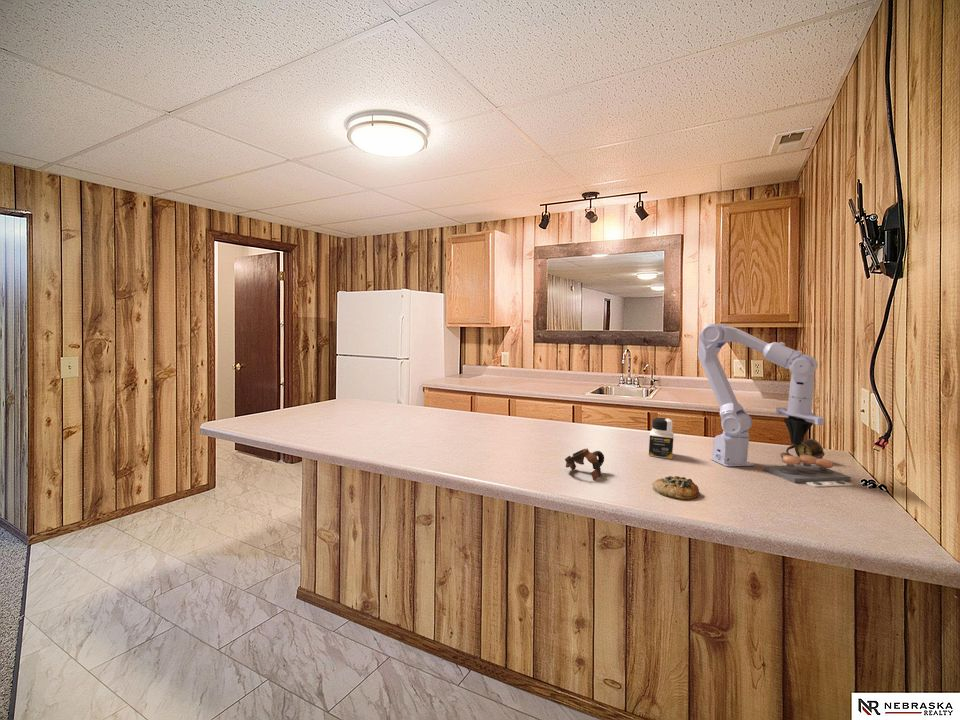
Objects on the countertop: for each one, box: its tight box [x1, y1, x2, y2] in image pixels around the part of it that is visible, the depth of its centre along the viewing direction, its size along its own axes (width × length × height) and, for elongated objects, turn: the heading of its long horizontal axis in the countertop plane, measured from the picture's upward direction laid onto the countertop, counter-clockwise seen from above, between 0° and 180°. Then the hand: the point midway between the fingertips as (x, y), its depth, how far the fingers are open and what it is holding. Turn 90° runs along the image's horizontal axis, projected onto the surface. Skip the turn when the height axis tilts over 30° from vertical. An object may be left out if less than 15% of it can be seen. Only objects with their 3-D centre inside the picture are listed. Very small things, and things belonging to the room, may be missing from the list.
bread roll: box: [651, 475, 700, 501], centre depth 122 cm, size 11×11×5 cm
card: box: [805, 481, 854, 488], centre depth 131 cm, size 12×3×1 cm, turn 99°
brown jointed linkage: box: [564, 448, 605, 481], centre depth 135 cm, size 12×10×8 cm
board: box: [764, 464, 852, 484], centre depth 138 cm, size 18×11×2 cm, turn 99°
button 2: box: [814, 458, 833, 470], centre depth 139 cm, size 4×4×3 cm
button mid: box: [798, 455, 816, 467], centre depth 138 cm, size 4×4×3 cm
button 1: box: [782, 455, 800, 467], centre depth 137 cm, size 4×4×3 cm
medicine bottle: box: [648, 417, 675, 460], centre depth 155 cm, size 7×7×12 cm
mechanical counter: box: [779, 438, 825, 460], centre depth 153 cm, size 7×13×10 cm
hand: (796, 444), depth 137 cm, fingers closed
